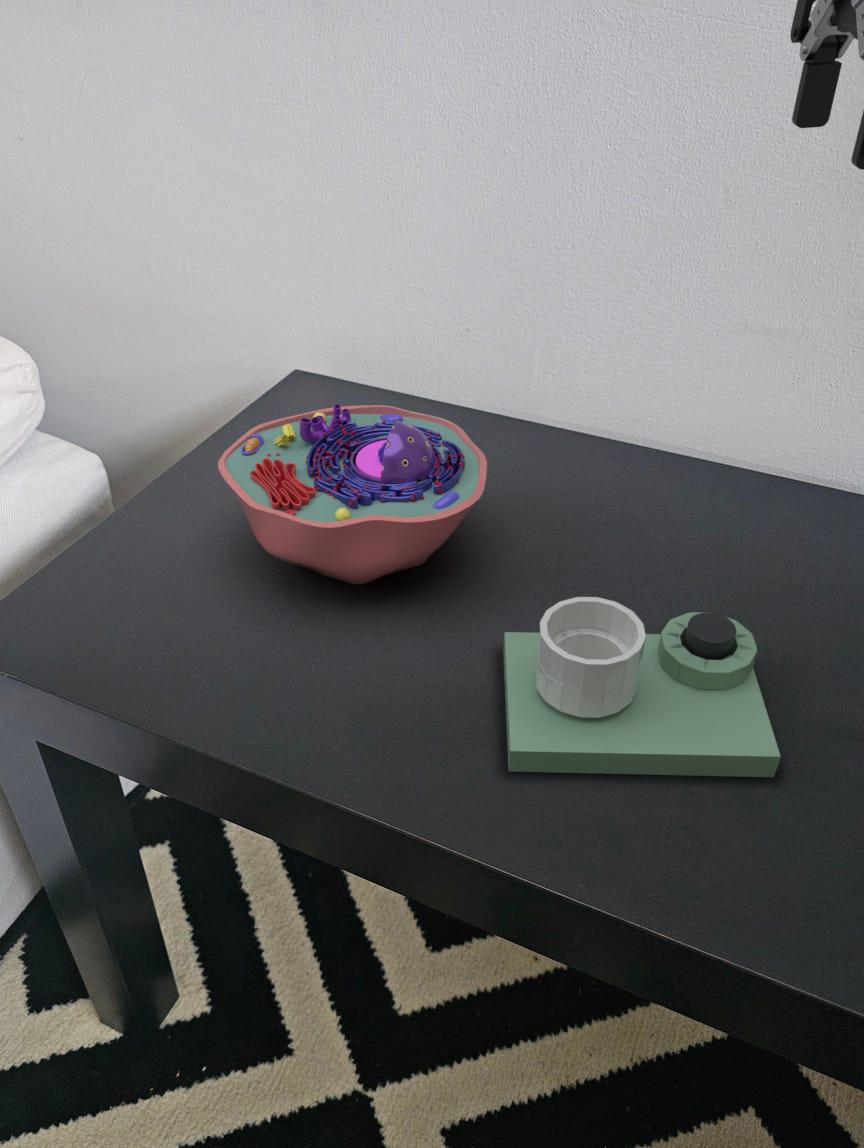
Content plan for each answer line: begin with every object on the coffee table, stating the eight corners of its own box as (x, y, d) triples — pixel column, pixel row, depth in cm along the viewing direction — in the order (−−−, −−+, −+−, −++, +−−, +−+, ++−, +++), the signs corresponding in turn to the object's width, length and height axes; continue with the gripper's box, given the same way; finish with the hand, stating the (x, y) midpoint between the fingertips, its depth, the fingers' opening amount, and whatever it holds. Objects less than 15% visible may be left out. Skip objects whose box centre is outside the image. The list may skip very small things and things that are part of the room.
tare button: (726, 630, 68) (731, 612, 67) (735, 661, 66) (740, 643, 65) (680, 630, 69) (684, 611, 68) (688, 660, 66) (692, 642, 65)
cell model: (276, 479, 90) (262, 357, 82) (504, 510, 85) (511, 384, 78) (196, 598, 78) (171, 468, 70) (457, 642, 73) (461, 508, 66)
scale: (736, 651, 72) (746, 612, 69) (774, 777, 63) (787, 737, 61) (502, 648, 72) (505, 609, 70) (508, 772, 64) (511, 732, 62)
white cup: (628, 656, 69) (638, 597, 65) (640, 724, 64) (651, 664, 61) (532, 654, 69) (537, 595, 66) (537, 722, 64) (543, 663, 61)
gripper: (792, -190, 59) (737, 118, 70) (918, -174, 49) (830, 187, 59) (918, -196, 60) (844, 111, 70) (1070, -181, 49) (956, 178, 60)
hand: (838, 145), depth 65 cm, fingers open, 8 cm apart
